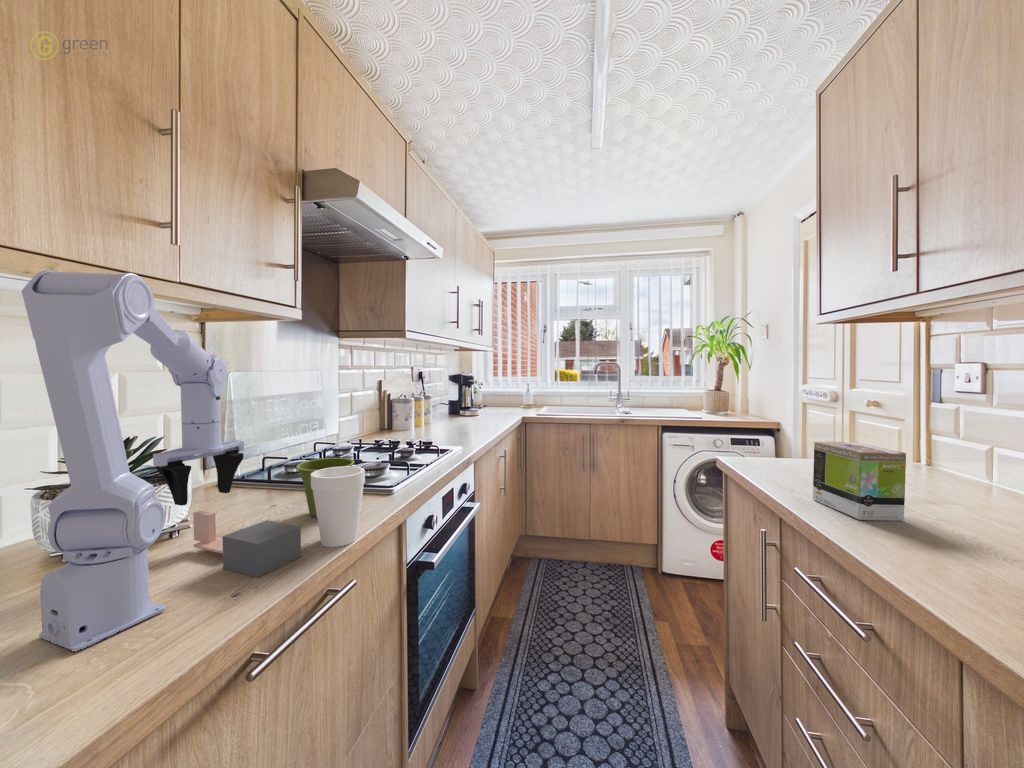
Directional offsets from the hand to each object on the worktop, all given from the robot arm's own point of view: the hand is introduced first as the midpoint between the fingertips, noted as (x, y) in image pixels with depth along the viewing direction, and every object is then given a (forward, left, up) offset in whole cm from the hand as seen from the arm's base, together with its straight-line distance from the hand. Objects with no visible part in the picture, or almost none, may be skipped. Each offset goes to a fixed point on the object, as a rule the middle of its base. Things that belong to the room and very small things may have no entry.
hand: (203, 498), depth 77 cm
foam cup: (+12, -19, -10) cm, 25 cm away
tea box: (+69, -116, -10) cm, 136 cm away
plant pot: (+23, -5, -10) cm, 25 cm away
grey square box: (0, -14, -9) cm, 17 cm away
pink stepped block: (0, -3, -8) cm, 9 cm away
